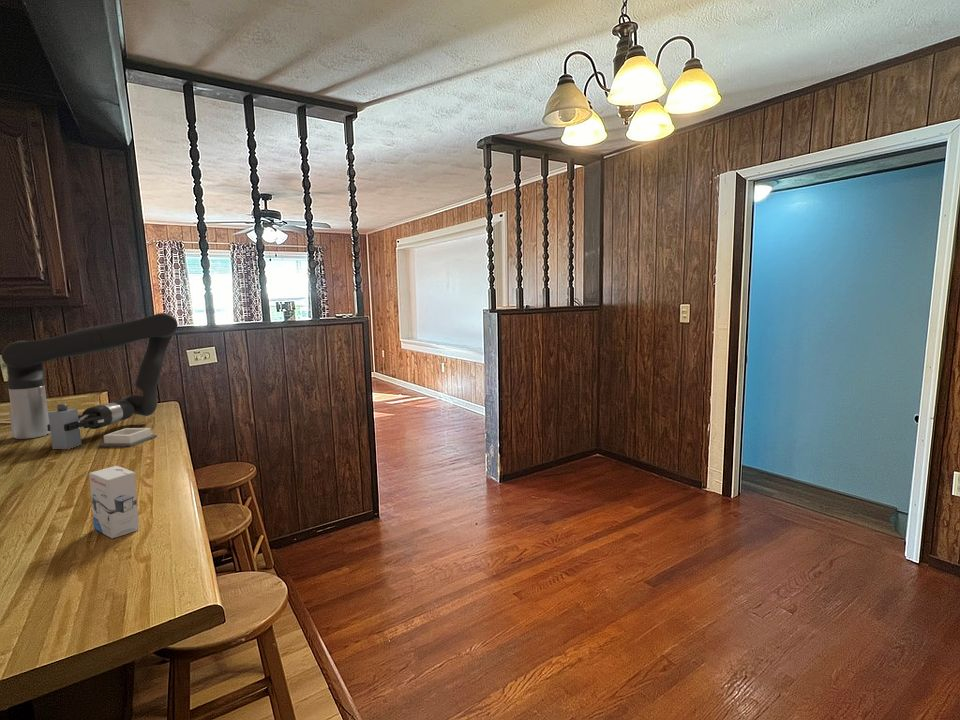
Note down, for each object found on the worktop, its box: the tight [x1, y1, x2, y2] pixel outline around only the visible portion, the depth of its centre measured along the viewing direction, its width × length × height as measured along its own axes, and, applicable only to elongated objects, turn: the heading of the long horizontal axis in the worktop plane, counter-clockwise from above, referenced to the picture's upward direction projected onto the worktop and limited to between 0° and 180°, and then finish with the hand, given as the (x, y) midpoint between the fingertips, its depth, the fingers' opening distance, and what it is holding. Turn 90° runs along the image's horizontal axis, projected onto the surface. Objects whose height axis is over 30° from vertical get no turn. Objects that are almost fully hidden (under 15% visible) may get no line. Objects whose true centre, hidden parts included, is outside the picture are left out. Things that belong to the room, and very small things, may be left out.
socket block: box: [98, 427, 158, 447], centre depth 161 cm, size 11×11×3 cm
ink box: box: [88, 465, 140, 539], centre depth 97 cm, size 9×5×12 cm, turn 58°
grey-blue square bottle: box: [48, 403, 83, 450], centre depth 155 cm, size 5×5×14 cm
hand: (57, 428), depth 152 cm, fingers closed on grey-blue square bottle, 5 cm apart
